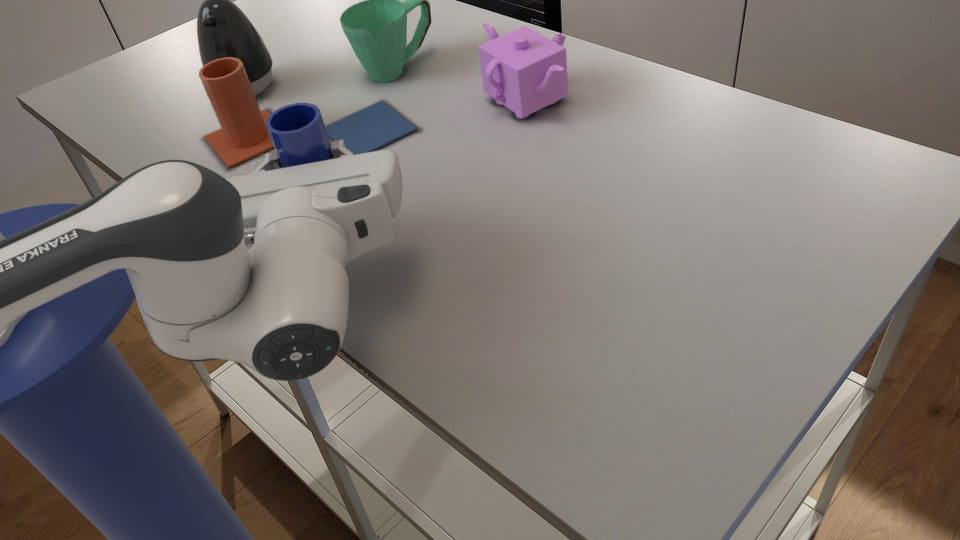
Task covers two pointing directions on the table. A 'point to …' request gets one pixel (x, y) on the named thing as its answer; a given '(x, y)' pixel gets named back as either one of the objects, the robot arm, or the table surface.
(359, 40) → the mug
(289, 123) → the blue cup
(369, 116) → the blue mat
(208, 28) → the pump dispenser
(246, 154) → the terracotta mat
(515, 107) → the teapot
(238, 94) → the terracotta cup
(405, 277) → the table surface
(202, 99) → the table surface
